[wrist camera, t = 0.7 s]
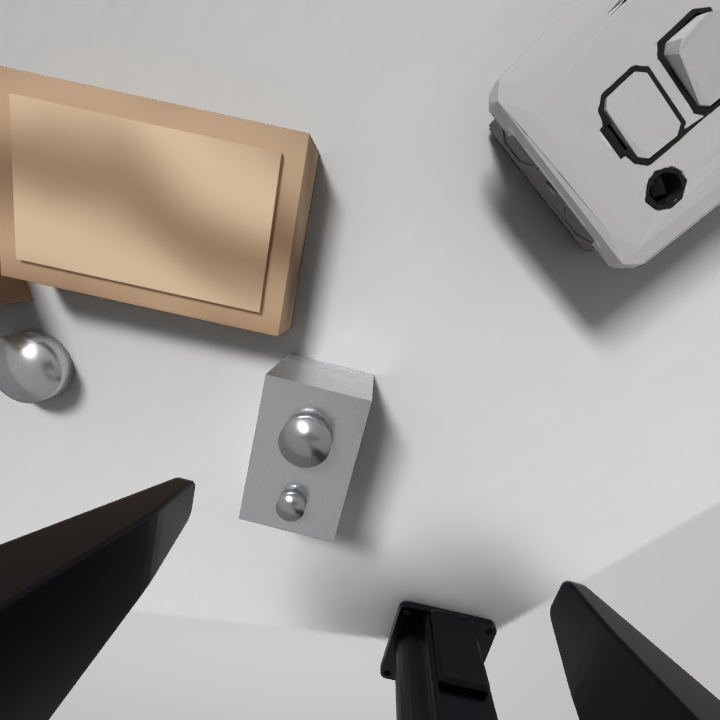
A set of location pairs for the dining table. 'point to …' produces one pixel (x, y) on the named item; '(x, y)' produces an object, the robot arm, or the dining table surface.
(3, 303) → the walnut offcut
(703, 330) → the dining table surface
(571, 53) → the electrical switch
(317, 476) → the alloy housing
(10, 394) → the chrome dome knob
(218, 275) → the tan shallow rectangular tray
